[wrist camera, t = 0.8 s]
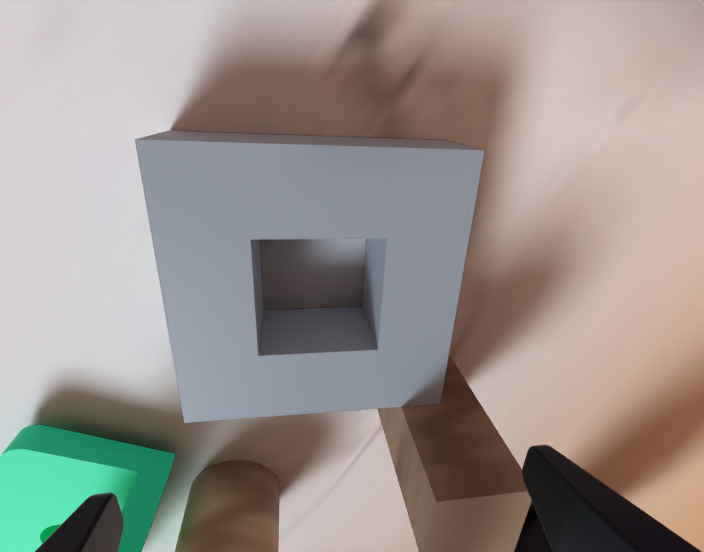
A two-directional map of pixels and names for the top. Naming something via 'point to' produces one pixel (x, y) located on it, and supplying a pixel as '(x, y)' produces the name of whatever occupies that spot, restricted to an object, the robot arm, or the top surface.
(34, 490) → the green angle bracket
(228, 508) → the round dowel
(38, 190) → the top surface
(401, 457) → the square peg
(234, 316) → the socket block
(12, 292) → the top surface
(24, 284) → the top surface
